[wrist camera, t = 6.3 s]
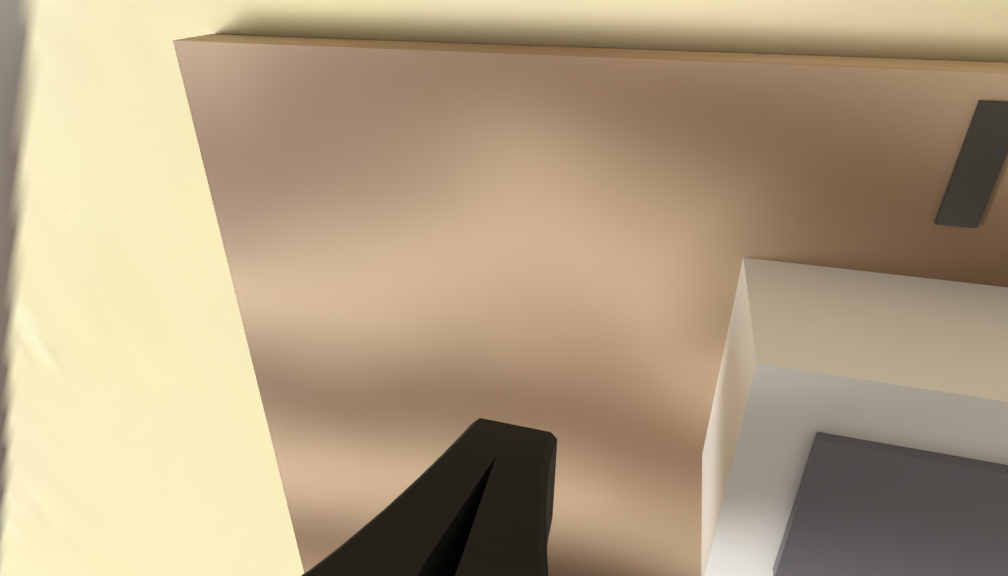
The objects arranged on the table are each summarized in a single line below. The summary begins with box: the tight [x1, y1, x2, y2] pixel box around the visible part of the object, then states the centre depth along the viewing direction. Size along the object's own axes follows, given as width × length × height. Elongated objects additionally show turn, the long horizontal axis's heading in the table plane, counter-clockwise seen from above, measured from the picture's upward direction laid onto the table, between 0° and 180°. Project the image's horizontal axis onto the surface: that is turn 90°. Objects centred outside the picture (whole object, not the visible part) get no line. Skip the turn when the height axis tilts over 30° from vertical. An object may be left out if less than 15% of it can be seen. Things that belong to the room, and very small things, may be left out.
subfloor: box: [173, 34, 1008, 576], centre depth 15 cm, size 18×22×1 cm
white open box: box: [701, 257, 1008, 576], centre depth 10 cm, size 5×7×4 cm
